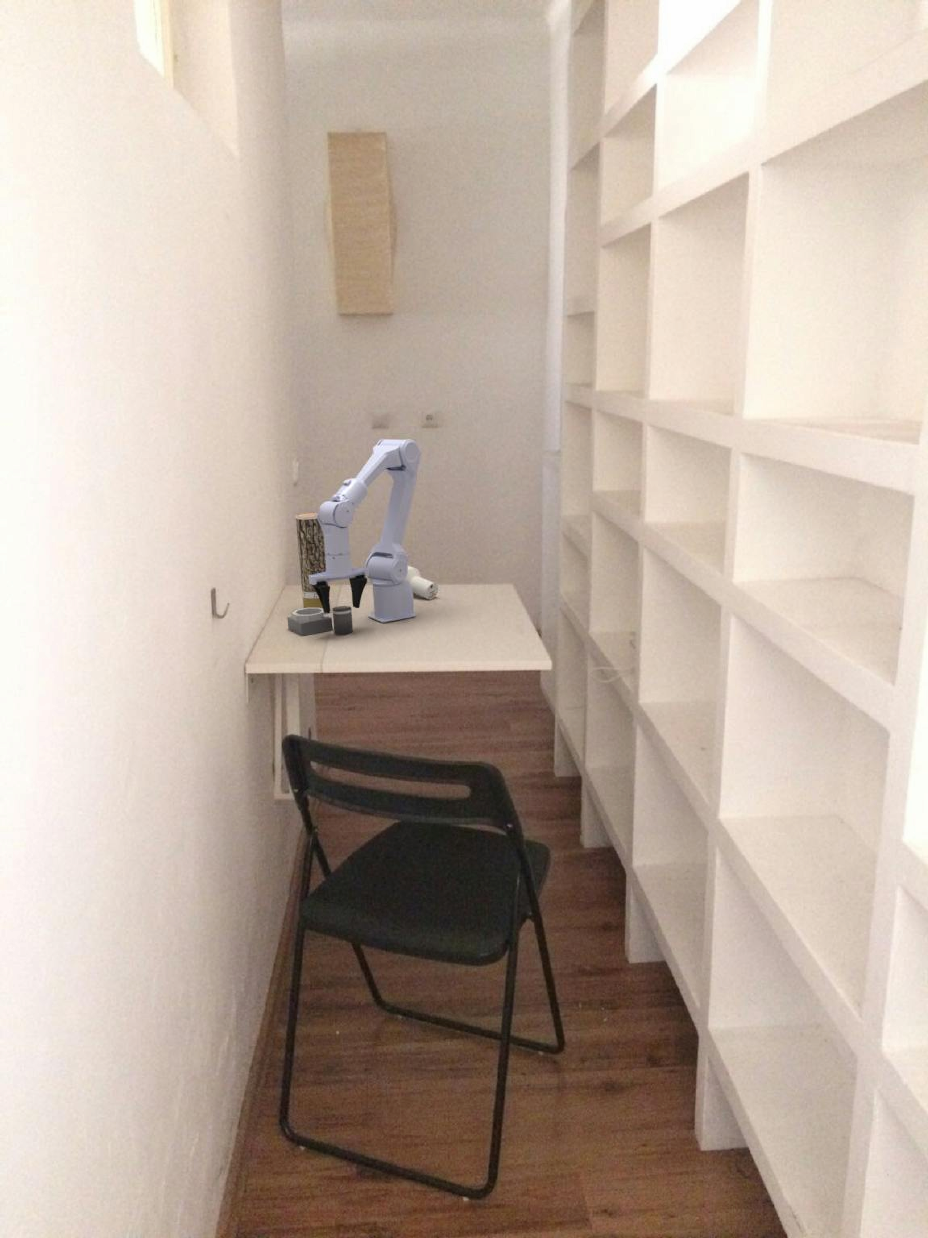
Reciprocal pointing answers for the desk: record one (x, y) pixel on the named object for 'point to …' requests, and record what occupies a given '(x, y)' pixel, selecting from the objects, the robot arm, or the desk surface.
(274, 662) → the desk surface
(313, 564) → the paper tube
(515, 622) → the desk surface
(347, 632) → the lens
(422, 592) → the spotlight
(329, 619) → the mount
